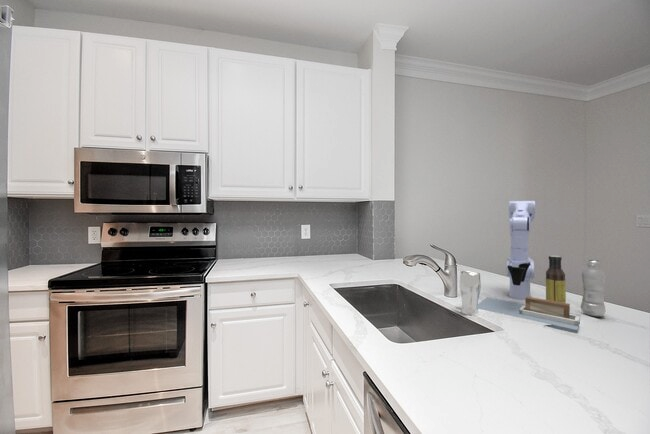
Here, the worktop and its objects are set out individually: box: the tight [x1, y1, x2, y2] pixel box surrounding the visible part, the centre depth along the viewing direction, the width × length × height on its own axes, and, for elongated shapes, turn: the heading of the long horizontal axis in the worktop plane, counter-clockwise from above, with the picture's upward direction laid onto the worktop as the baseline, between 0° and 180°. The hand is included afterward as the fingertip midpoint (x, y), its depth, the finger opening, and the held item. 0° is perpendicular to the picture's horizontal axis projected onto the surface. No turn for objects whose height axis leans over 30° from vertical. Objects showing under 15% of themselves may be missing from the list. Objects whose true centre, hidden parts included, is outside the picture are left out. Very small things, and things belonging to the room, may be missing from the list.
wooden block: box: [524, 296, 571, 319], centre depth 101 cm, size 3×12×6 cm, turn 47°
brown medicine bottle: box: [545, 255, 567, 303], centre depth 115 cm, size 6×6×20 cm
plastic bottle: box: [580, 259, 607, 318], centre depth 105 cm, size 6×7×20 cm
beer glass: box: [459, 270, 482, 317], centre depth 107 cm, size 7×7×15 cm
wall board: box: [478, 296, 582, 334], centre depth 107 cm, size 18×30×2 cm, turn 46°
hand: (518, 283), depth 112 cm, fingers open, 7 cm apart
